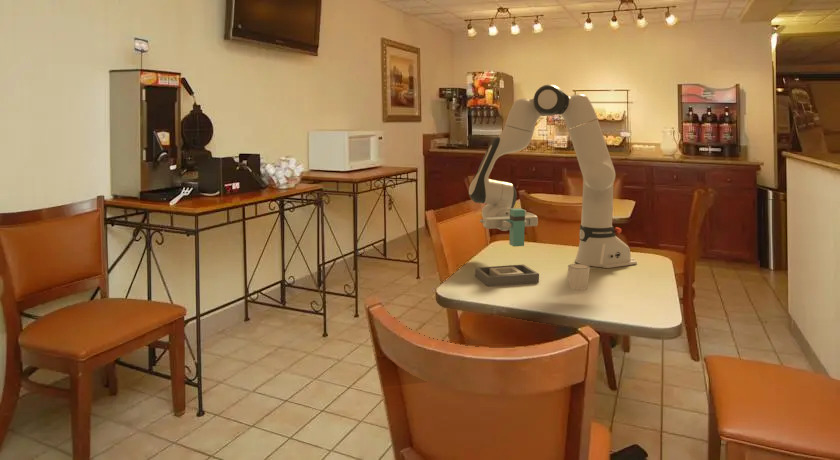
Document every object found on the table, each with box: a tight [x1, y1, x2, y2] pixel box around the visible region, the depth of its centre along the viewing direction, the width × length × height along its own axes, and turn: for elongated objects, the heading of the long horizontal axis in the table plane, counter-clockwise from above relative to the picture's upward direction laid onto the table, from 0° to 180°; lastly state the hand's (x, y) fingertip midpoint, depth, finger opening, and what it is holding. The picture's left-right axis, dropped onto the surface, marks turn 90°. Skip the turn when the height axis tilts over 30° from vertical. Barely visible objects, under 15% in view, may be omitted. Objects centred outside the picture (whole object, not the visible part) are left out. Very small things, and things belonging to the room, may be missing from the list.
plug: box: [508, 207, 526, 247], centre depth 201 cm, size 4×4×13 cm
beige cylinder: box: [567, 263, 591, 290], centre depth 181 cm, size 7×7×7 cm
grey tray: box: [474, 264, 540, 287], centre depth 191 cm, size 18×13×3 cm
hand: (518, 224), depth 200 cm, fingers closed on plug, 4 cm apart
